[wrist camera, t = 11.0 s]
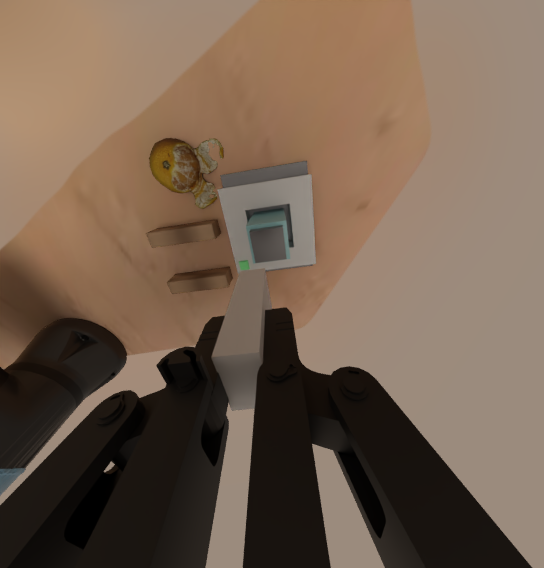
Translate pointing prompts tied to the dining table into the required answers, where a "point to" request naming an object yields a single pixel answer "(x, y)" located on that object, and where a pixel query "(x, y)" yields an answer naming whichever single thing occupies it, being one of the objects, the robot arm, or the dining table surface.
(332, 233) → the dining table surface
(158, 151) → the fruit
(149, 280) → the dining table surface
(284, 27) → the dining table surface
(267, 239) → the plug
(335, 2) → the dining table surface
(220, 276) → the pair of wooden rails
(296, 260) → the port
